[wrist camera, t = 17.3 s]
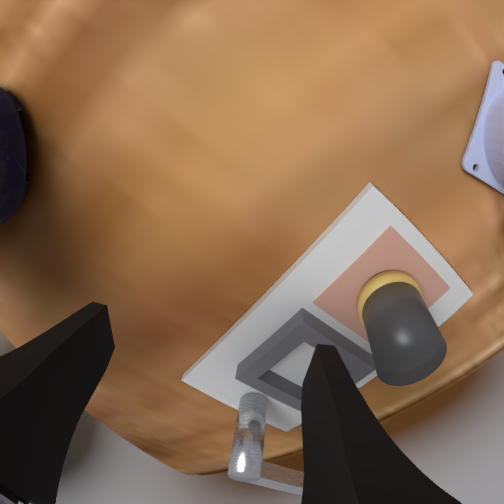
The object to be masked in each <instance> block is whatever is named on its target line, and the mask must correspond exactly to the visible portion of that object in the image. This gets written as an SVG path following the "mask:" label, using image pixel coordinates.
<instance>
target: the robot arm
mask: <svg viewBox="0 0 504 504" xmlns="http://www.w3.org/2000/svg"><path fill="white" fill-rule="evenodd" d="M502 70H504V64H503V63H502V62H500V61H493V62H492V64H491V68H490V72H489V76H488V80H487V84H486V88H485V92H484V95H483V99H482V102H481V106H480V109H479V112H478V115H477V119H476V122H475V125H474V128H473V131H472V134H471V137H470V139H469V142H468V145H467V148H466V151H465V153H464V156H463V159H462V162H461V164H462V168H463V169H464V170H465V171H467V172H468V173H470V174H472V175H474V176H475V177H477V178H479V179H480V180H482V181H483V182H485V183H487V184H488V185H490V186H492V187H493V188H495V189H496V190H498V191H499V192H501V193H502V194H504V75H503V73H502ZM474 164H475V165H476V168H475V170H473V165H474ZM114 348H115V345H114V340H113V335H112V330H111V325H110V320H109V314H108V308H107V305H103V304H99V303H95V302H92V303H90V304H88V305H87V306H85V307H83V308H82V309H80V310H79V311H77V312H75V313H74V314H72V315H71V316H69V317H68V318H66V319H65V320H63V321H62V322H60V323H58V324H57V325H55V326H54V327H52V328H51V329H49V330H48V331H46V332H44V333H43V334H41V335H39V336H38V337H36V338H34V339H33V340H31V341H29V342H28V343H26V344H24V345H22V346H21V347H19V348H17V349H15V350H13V351H11V352H9V353H7V354H5V355H2V356H0V504H18V501H20V502H22V503H24V504H29V502H30V503H31V504H55V503H56V496H57V491H58V485H59V480H60V476H61V472H62V468H63V464H64V460H65V457H66V454H67V451H68V447H69V444H70V441H71V439H72V436H73V433H74V431H75V428H76V425H77V423H78V421H79V419H80V416H81V415H82V413H83V411H84V409H85V407H86V405H87V404H88V402H89V400H90V398H91V396H92V394H93V393H94V391H95V389H96V387H97V385H98V384H99V382H100V380H101V378H102V376H103V374H104V373H105V371H106V368H107V366H108V364H109V361H110V359H111V356H112V353H113V351H114ZM301 419H302V436H303V454H304V480H303V492H302V503H301V504H462V503H460V502H459V501H458V500H456V499H455V498H454V497H452V496H451V495H449V494H448V493H446V492H445V491H444V490H443V489H441V488H440V487H439V486H437V485H436V484H435V483H433V481H431V480H430V479H429V478H428V477H427V476H426V475H425V474H423V473H422V472H421V471H420V470H419V469H418V468H417V467H416V466H415V465H414V464H413V463H412V462H411V461H410V459H408V457H407V456H406V455H405V454H403V452H402V451H401V450H400V449H399V448H398V446H397V445H396V444H395V443H394V442H393V440H392V439H391V438H390V437H389V435H388V434H387V433H386V431H385V430H384V429H383V427H382V426H381V424H380V423H379V422H378V420H377V419H376V417H375V416H374V414H373V413H372V411H371V410H370V408H369V406H368V405H367V403H366V402H365V400H364V398H363V397H362V395H361V393H360V391H359V390H358V388H357V386H356V384H355V383H354V381H353V379H352V377H351V375H350V373H349V372H348V370H347V368H346V366H345V364H344V362H343V360H342V358H341V356H340V354H339V352H338V350H337V348H336V347H335V346H333V345H324V344H317V345H316V348H315V350H314V353H313V356H312V359H311V362H310V364H309V367H308V370H307V372H306V375H305V378H304V380H303V384H302V400H301Z"/></svg>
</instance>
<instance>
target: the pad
mask: <svg viewBox="0 0 504 504" xmlns="http://www.w3.org/2000/svg"><path fill="white" fill-rule="evenodd" d="M386 270H399V271H404V272H406V273H408V274H410V275H411V276H413V277H414V279H415V280H416V281H417V283H418V285H419V287H420V288H421V290H422V292H423V295H424V302H425V304H426V306H427V308H430V307H431V306H432V305H433V304H434V303H435V302H436V301H437V300H438V299H439V298H440V297H441V296H443V295H444V294H445V293H446V292H447V291H448V290H449V289H450V287H449V286H448V285H447V283H446V282H445V281H444V280H443V279H442V278H441V277H440V276H439V275H438V274H437V272H436V271H435V270H434V269H433V268H432V267H431V266H430V265H429V264H428V263H427V262H426V261H425V260H424V259H423V258H422V257H421V256H420V254H419V253H418V252H417V251H416V250H415V249H414V248H413V247H412V246H411V245H410V244H409V243H408V242H407V241H406V240H405V239H404V238H403V237H402V236H401V235H400V234H399V233H398V232H397V231H396V230H395V229H394V228H393V227H392V226H389V227H388V228H387V229H386V230H385V231H384V232H383V233H382V234H381V235H380V236H379V237H378V238H377V239H376V240H375V241H374V242H373V243H372V244H371V245H370V246H369V247H368V248H367V249H366V250H365V251H364V252H363V253H362V254H361V255H360V256H359V257H358V258H357V259H356V260H355V261H354V262H353V263H352V264H351V265H350V266H349V267H348V268H347V269H346V270H345V271H344V272H343V273H342V274H341V275H340V276H339V277H338V278H337V279H336V280H335V281H334V282H333V283H332V284H331V285H330V286H328V287H327V288H326V289H325V290H324V291H323V292H322V293H321V294H320V295H319V296H318V297H317V298H316V299H315V300H314V301H313V304H314V305H316V306H317V307H319V308H320V309H322V310H323V311H324V312H326V313H327V314H329V315H330V316H332V317H333V318H334V319H336V320H337V321H339V322H340V323H342V324H343V325H345V326H346V327H347V328H349V329H350V330H352V331H353V332H355V333H356V334H357V335H359V336H360V337H362V338H363V339H365V340H366V341H367V342H369V340H368V337H367V333H366V329H365V328H364V327H363V326H362V324H361V322H360V319H359V315H358V312H357V307H356V301H357V297H358V294H359V292H360V290H361V288H362V287H363V285H364V284H365V282H366V281H367V280H368V279H370V278H371V277H372V276H374V275H375V274H377V273H379V272H382V271H386Z"/></svg>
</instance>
